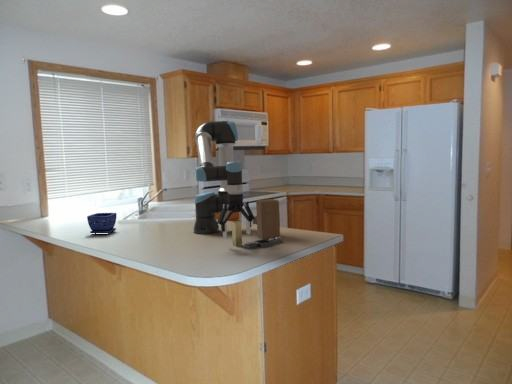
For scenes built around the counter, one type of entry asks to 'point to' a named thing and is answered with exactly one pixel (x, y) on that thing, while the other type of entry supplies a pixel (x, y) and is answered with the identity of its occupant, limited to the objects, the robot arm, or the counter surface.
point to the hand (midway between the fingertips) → (237, 235)
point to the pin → (236, 233)
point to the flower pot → (102, 222)
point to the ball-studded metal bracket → (263, 243)
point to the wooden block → (268, 218)
